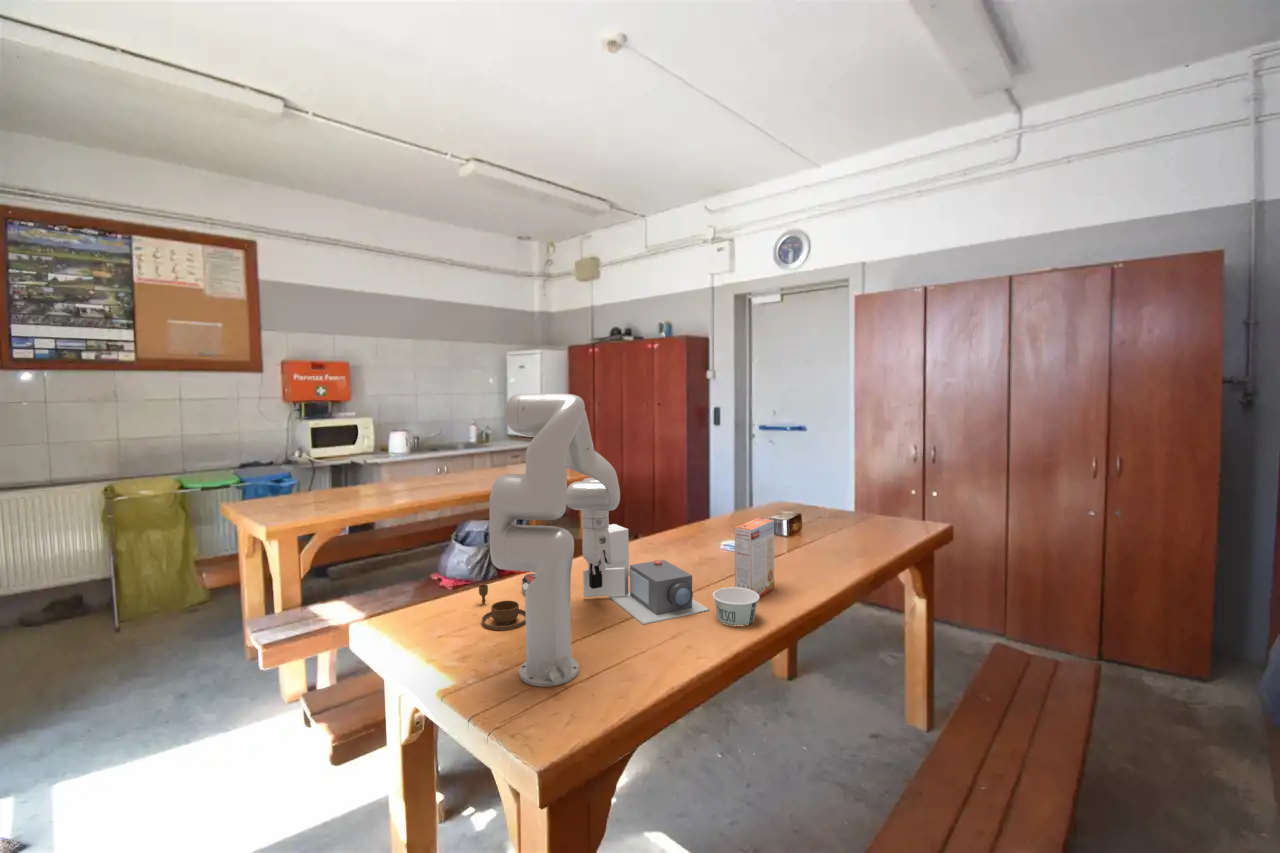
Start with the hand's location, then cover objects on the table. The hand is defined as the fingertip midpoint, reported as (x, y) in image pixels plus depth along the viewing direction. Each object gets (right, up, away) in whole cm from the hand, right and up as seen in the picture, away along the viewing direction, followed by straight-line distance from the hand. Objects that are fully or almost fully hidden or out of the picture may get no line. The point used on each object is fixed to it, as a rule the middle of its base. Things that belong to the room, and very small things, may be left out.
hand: (595, 587), depth 165 cm
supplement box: (+3, -3, +26) cm, 26 cm away
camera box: (+18, -5, 0) cm, 19 cm away
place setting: (-23, -6, -8) cm, 25 cm away
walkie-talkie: (-18, -5, +10) cm, 21 cm away
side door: (+3, -3, +4) cm, 6 cm away
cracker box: (+46, -4, +7) cm, 46 cm away
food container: (+37, -6, -11) cm, 39 cm away
